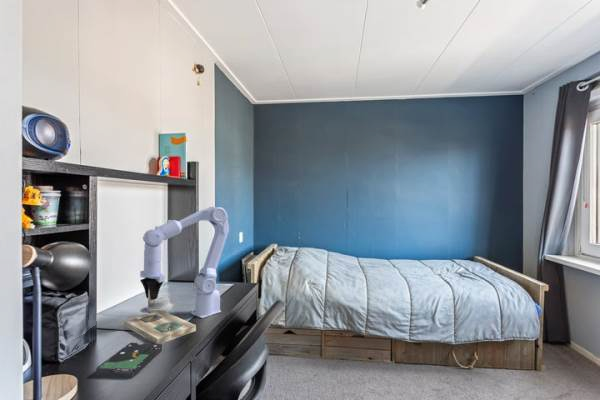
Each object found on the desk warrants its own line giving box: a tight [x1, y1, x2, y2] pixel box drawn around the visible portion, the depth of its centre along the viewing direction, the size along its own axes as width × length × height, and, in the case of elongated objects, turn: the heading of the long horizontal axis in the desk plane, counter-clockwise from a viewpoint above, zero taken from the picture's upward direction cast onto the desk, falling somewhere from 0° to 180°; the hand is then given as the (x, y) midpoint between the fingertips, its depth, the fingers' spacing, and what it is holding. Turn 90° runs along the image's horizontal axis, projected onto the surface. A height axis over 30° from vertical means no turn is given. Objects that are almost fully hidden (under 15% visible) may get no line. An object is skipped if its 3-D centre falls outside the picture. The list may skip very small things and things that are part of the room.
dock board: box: [123, 310, 197, 345], centre depth 109 cm, size 14×24×2 cm, turn 53°
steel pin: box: [147, 287, 155, 307], centre depth 113 cm, size 3×3×8 cm
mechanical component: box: [146, 296, 174, 313], centre depth 130 cm, size 10×4×10 cm
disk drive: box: [95, 342, 163, 379], centre depth 86 cm, size 10×3×15 cm
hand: (151, 298), depth 113 cm, fingers closed on steel pin, 2 cm apart
